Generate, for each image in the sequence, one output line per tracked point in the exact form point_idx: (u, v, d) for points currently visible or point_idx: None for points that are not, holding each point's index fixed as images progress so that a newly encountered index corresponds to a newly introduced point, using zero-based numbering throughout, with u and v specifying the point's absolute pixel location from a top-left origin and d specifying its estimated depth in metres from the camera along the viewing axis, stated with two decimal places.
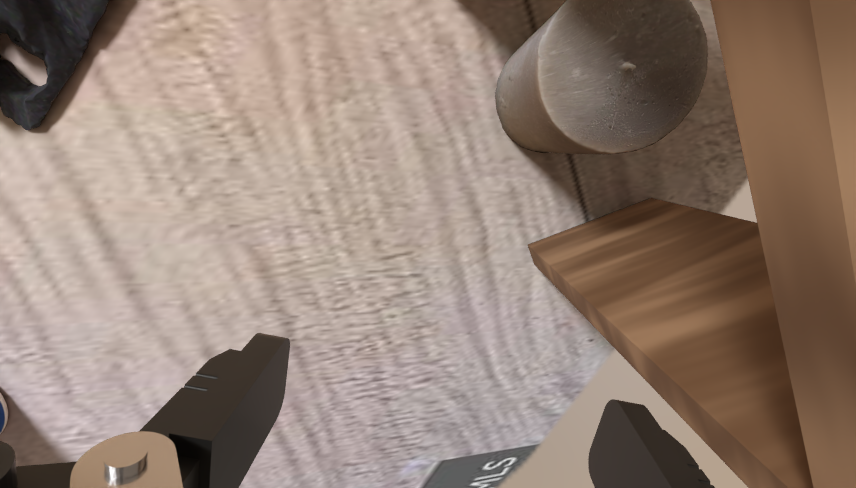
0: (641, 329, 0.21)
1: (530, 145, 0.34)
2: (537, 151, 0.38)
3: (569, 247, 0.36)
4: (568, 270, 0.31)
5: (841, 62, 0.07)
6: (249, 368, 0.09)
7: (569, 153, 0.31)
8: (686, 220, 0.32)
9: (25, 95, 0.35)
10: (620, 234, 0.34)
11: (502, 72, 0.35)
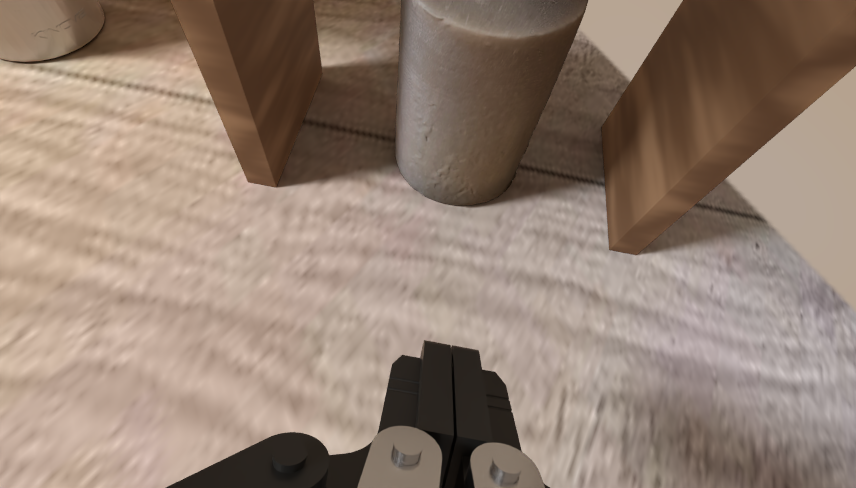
0: None
1: (502, 169, 0.28)
2: (505, 189, 0.32)
3: (640, 184, 0.28)
4: (690, 157, 0.23)
5: None
6: (440, 372, 0.10)
7: (539, 116, 0.26)
8: (658, 60, 0.29)
9: None
10: (647, 126, 0.28)
11: (409, 171, 0.30)
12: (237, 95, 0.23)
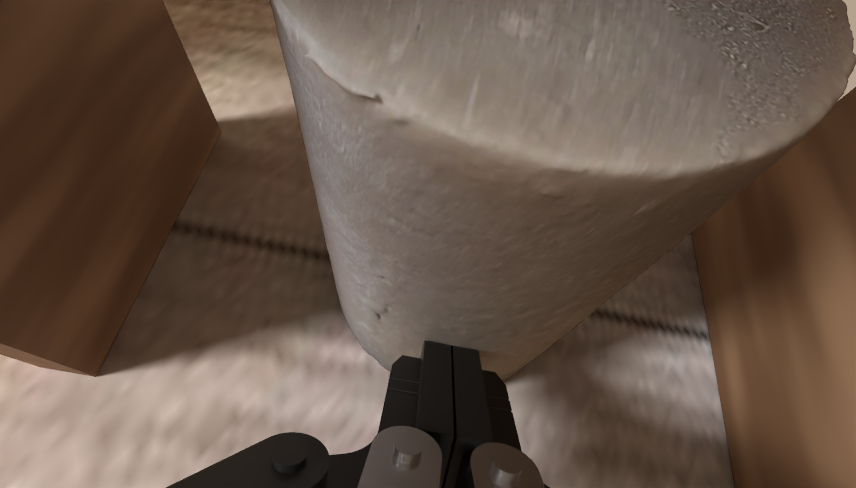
0: None
1: (541, 352, 0.14)
2: None
3: (828, 403, 0.13)
4: None
5: None
6: (440, 372, 0.10)
7: None
8: None
9: None
10: (834, 275, 0.14)
11: (357, 333, 0.16)
12: None
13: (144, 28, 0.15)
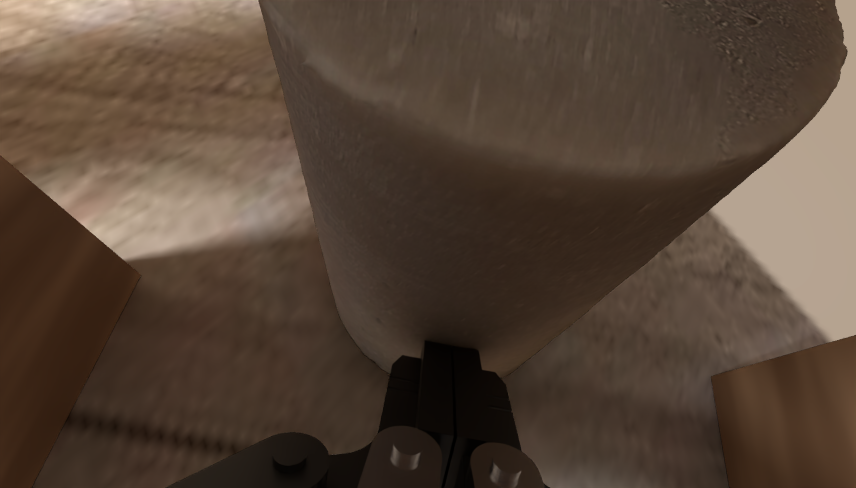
0: None
1: (540, 348, 0.14)
2: None
3: None
4: None
5: None
6: (440, 372, 0.10)
7: None
8: None
9: None
10: None
11: (355, 336, 0.16)
12: None
13: None
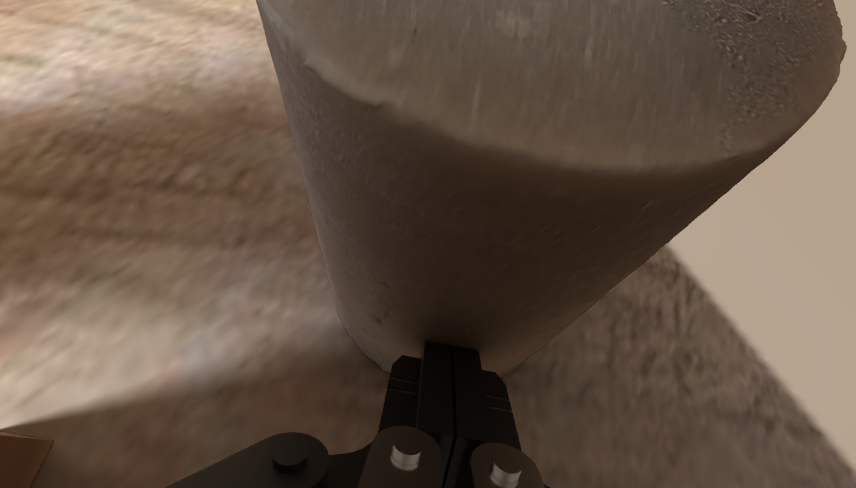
0: None
1: (541, 347, 0.14)
2: None
3: None
4: None
5: None
6: (440, 372, 0.10)
7: None
8: None
9: None
10: None
11: (355, 337, 0.16)
12: None
13: None
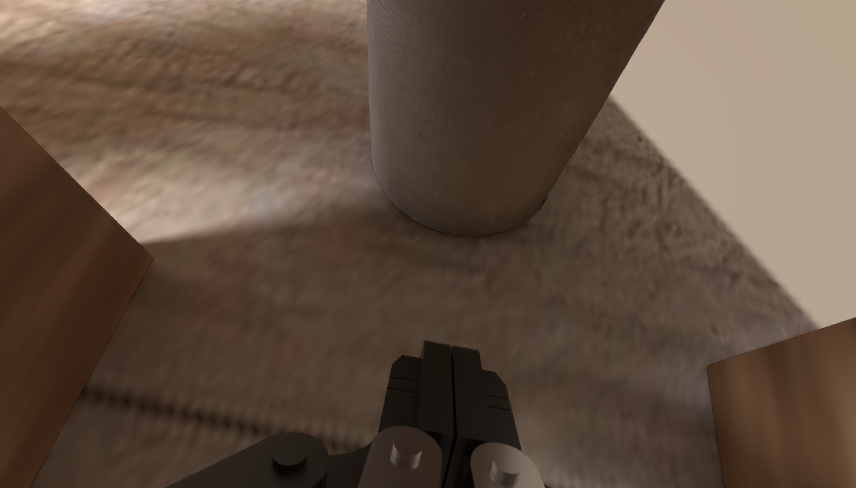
0: None
1: (545, 180, 0.18)
2: (540, 207, 0.21)
3: None
4: None
5: None
6: (440, 372, 0.10)
7: (611, 90, 0.15)
8: None
9: None
10: None
11: (393, 186, 0.19)
12: None
13: (15, 195, 0.12)
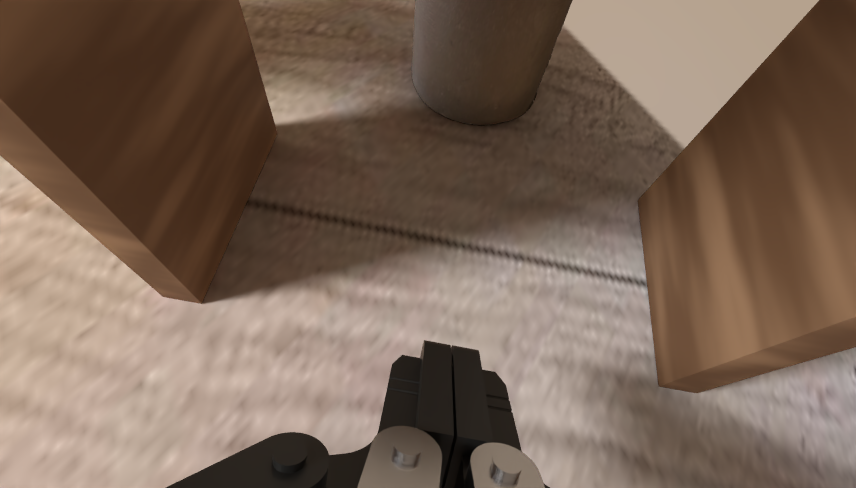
0: None
1: (528, 77, 0.27)
2: (527, 109, 0.31)
3: (708, 311, 0.20)
4: (809, 311, 0.15)
5: None
6: (440, 372, 0.10)
7: (566, 13, 0.25)
8: (729, 132, 0.20)
9: None
10: (715, 226, 0.20)
11: (430, 90, 0.29)
12: (105, 215, 0.15)
13: (240, 60, 0.22)
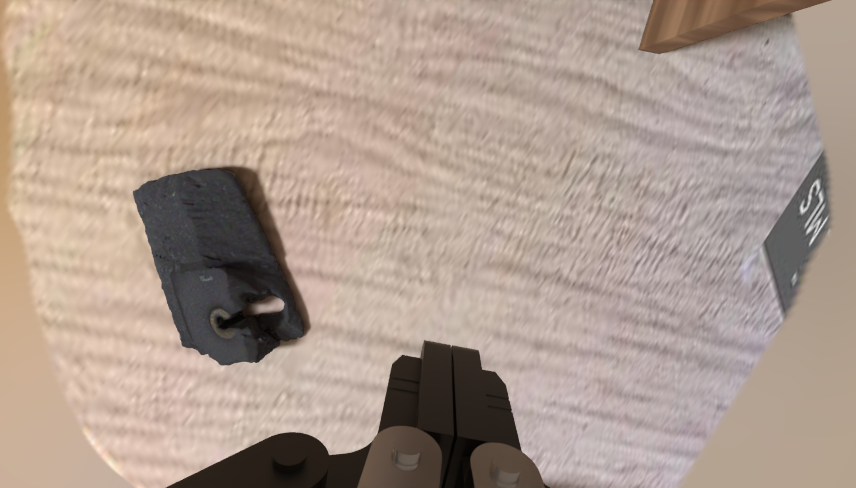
0: None
1: None
2: None
3: (671, 10, 0.36)
4: (696, 19, 0.32)
5: None
6: (440, 372, 0.10)
7: None
8: None
9: (284, 319, 0.49)
10: None
11: None
12: None
13: None
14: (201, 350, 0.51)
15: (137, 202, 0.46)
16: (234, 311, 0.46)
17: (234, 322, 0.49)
